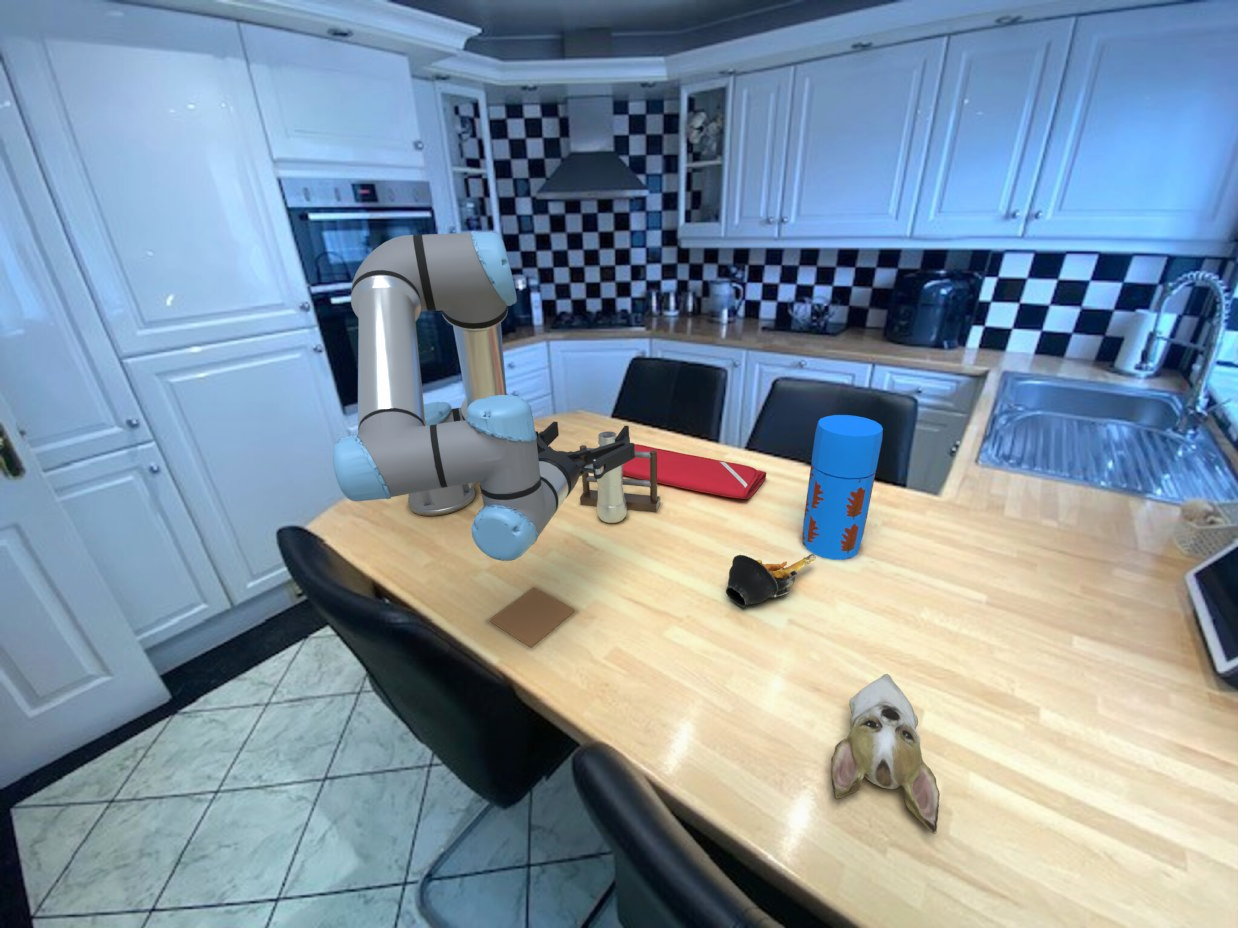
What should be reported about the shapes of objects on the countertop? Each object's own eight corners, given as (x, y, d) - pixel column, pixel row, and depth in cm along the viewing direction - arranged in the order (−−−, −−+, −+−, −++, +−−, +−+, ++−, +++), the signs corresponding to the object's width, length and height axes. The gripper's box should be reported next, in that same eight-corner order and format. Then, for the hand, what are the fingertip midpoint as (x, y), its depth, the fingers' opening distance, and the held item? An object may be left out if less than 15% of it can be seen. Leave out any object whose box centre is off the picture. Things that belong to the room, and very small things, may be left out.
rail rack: (580, 504, 118) (575, 449, 112) (586, 496, 121) (581, 442, 115) (656, 512, 113) (655, 455, 107) (659, 503, 116) (659, 448, 110)
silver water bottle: (624, 527, 108) (620, 441, 99) (593, 525, 109) (587, 440, 101) (630, 512, 114) (626, 429, 105) (600, 510, 115) (595, 428, 106)
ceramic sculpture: (940, 676, 59) (957, 803, 48) (924, 723, 64) (936, 851, 52) (842, 652, 63) (835, 763, 52) (833, 697, 68) (825, 810, 56)
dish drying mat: (625, 449, 145) (624, 437, 144) (766, 479, 125) (768, 465, 124) (594, 471, 133) (593, 458, 132) (745, 507, 113) (746, 493, 112)
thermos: (861, 535, 102) (884, 418, 91) (859, 565, 93) (884, 440, 82) (804, 524, 106) (819, 412, 95) (797, 552, 97) (813, 432, 87)
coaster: (489, 621, 84) (489, 619, 84) (533, 589, 91) (533, 587, 91) (531, 647, 78) (530, 645, 78) (574, 611, 85) (574, 609, 85)
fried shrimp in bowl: (704, 573, 85) (765, 507, 93) (734, 621, 88) (791, 553, 96) (743, 583, 77) (806, 510, 85) (774, 635, 80) (833, 560, 88)
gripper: (474, 497, 79) (530, 445, 97) (629, 513, 72) (658, 453, 91) (465, 453, 75) (525, 407, 94) (627, 466, 69) (657, 414, 88)
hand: (591, 430), depth 92 cm, fingers open, 13 cm apart
